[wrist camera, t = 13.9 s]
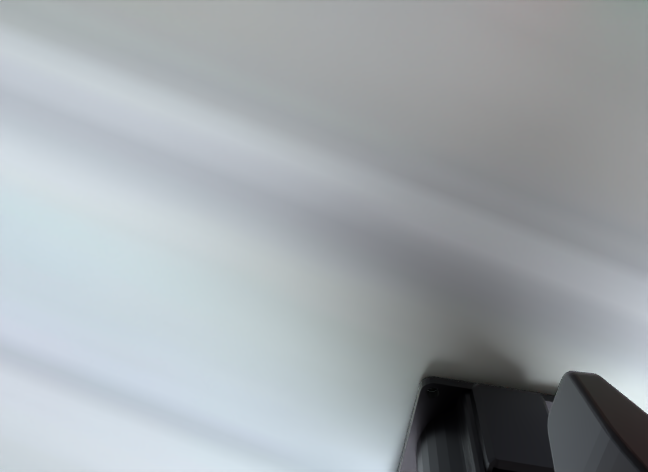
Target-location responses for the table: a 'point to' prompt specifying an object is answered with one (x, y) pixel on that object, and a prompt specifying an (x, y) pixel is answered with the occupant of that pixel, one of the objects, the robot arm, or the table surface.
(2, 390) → the table surface
